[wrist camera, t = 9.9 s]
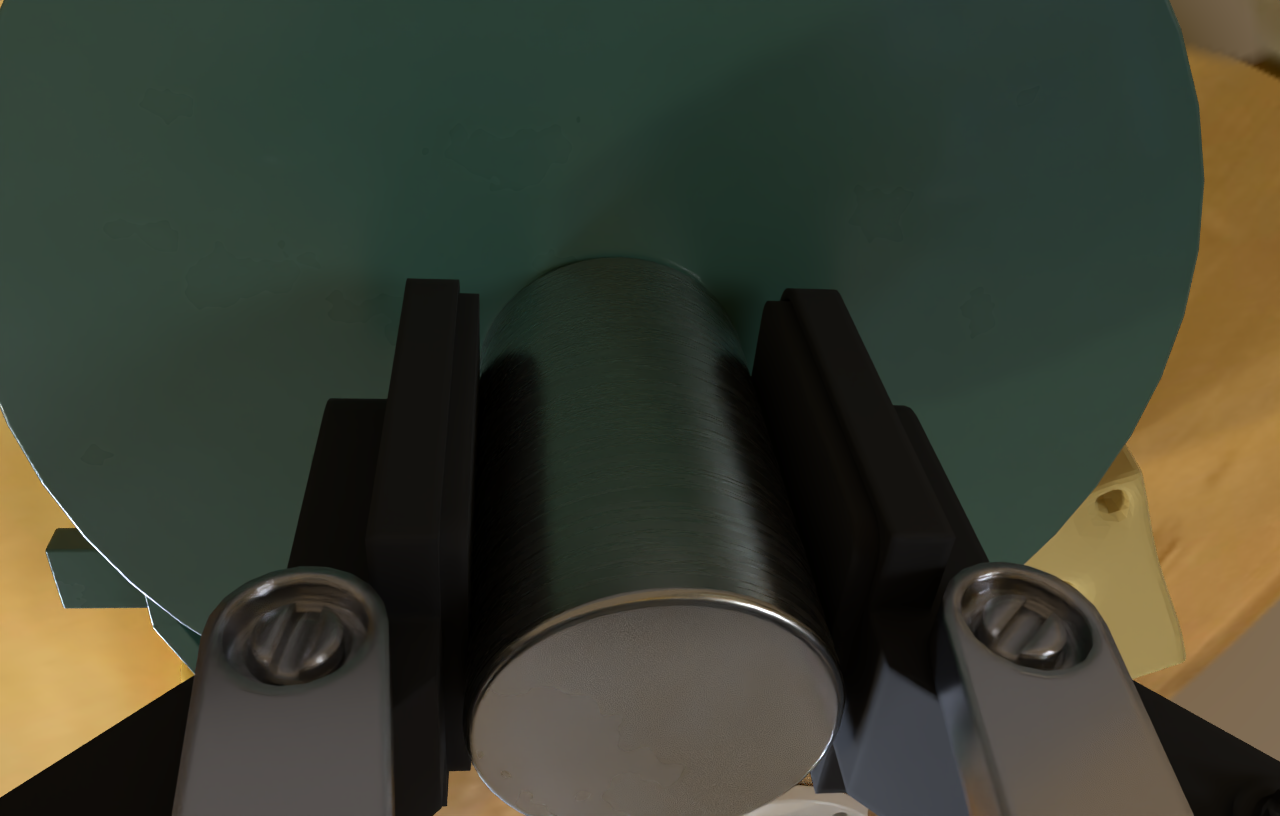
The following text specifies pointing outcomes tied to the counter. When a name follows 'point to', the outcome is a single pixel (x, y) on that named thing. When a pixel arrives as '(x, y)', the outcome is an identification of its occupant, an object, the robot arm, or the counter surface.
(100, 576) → the pot
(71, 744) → the counter surface
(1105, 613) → the cheese
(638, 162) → the lid
